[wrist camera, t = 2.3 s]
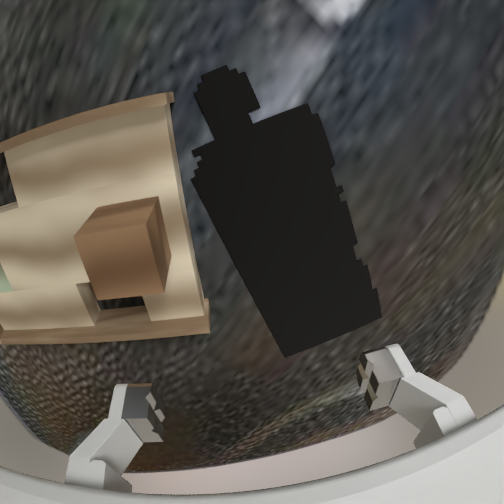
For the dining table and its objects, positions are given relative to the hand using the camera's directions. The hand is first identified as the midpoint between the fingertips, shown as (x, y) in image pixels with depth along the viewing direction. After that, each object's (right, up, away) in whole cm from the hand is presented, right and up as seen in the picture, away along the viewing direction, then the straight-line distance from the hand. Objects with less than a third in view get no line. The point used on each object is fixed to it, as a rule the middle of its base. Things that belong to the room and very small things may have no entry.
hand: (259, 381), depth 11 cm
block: (-9, +6, +12) cm, 17 cm away
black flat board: (+4, +7, +17) cm, 19 cm away
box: (-17, +6, +14) cm, 23 cm away
